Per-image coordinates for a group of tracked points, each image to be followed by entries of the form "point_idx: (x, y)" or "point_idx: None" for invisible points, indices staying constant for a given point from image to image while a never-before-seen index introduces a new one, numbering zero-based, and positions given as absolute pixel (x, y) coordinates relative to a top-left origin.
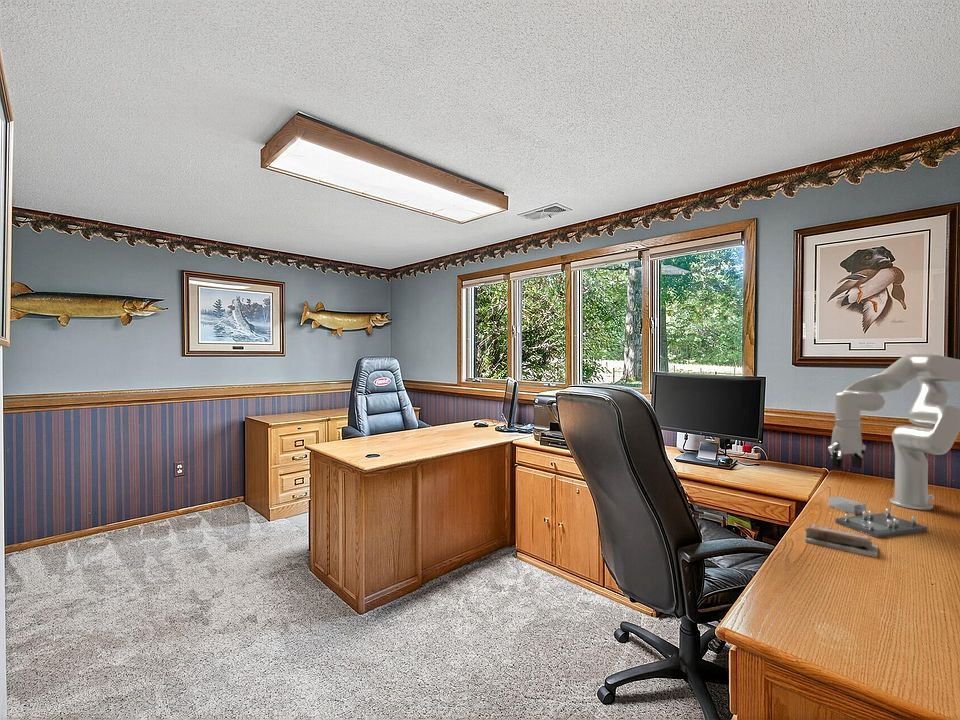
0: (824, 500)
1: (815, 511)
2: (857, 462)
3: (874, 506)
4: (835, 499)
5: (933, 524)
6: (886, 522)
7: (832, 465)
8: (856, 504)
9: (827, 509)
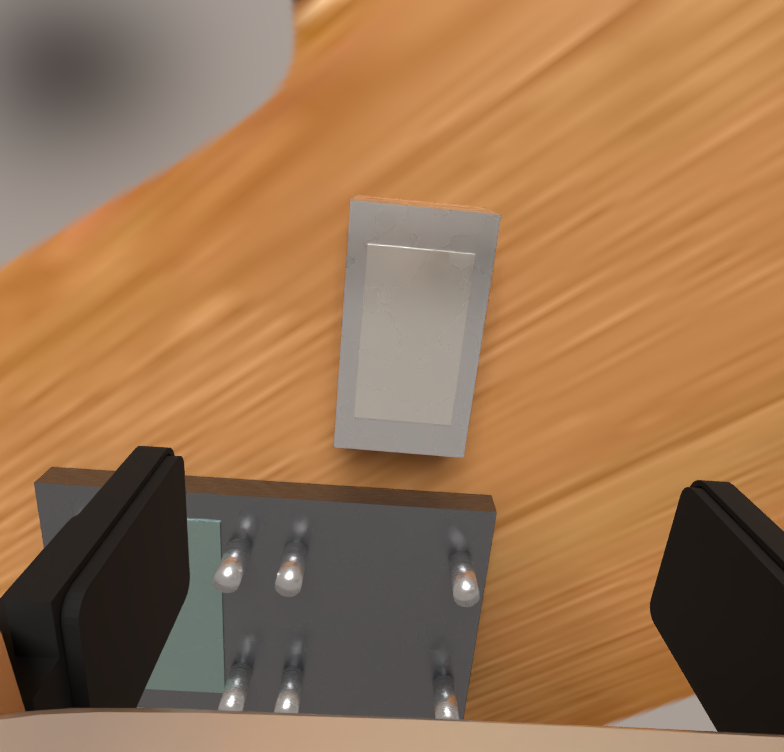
0: (502, 40)
1: (114, 250)
2: (709, 655)
3: (726, 328)
4: (346, 273)
5: (632, 656)
6: (311, 623)
7: (123, 464)
8: (375, 437)
9: (265, 248)
